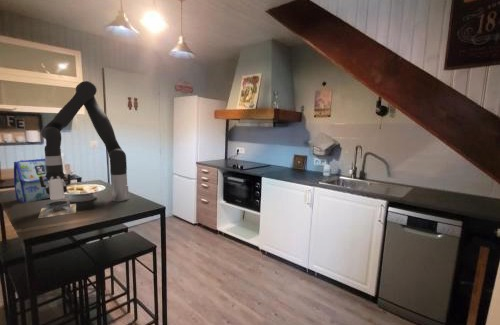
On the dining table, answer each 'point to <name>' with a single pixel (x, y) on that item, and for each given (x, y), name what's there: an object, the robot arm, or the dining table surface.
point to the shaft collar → (57, 207)
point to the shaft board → (57, 211)
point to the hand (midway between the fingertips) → (57, 193)
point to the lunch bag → (30, 180)
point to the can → (56, 189)
